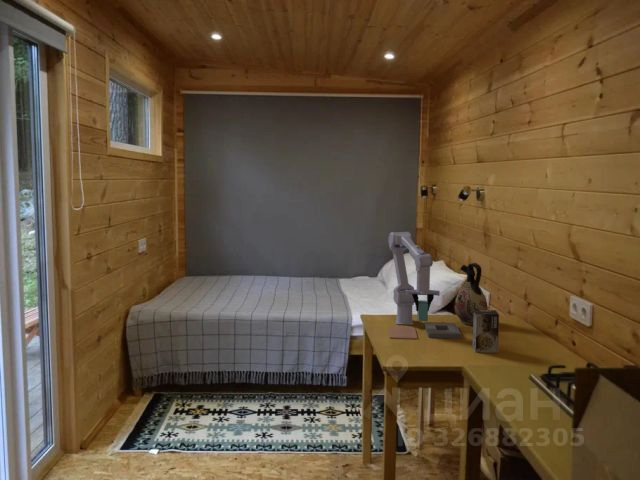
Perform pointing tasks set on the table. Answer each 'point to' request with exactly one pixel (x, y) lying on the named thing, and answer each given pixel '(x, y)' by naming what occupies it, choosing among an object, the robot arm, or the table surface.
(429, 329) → the pocket board
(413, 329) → the terracotta tile
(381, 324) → the table surface
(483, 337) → the coffee box
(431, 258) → the robot arm
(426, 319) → the teal block
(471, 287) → the ceramic jug
